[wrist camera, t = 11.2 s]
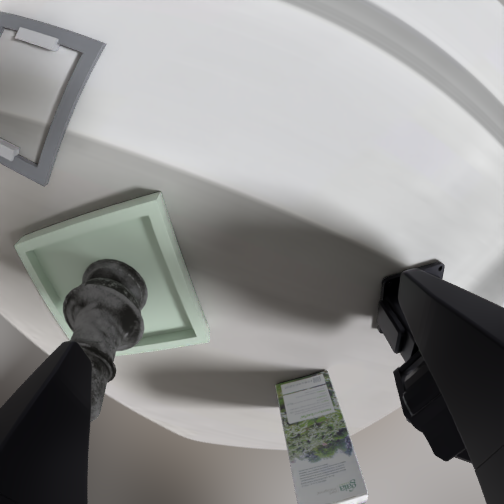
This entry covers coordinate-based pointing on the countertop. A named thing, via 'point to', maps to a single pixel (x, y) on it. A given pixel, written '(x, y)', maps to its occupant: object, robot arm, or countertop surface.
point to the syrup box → (319, 443)
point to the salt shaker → (106, 318)
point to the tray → (130, 252)
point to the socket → (91, 51)
